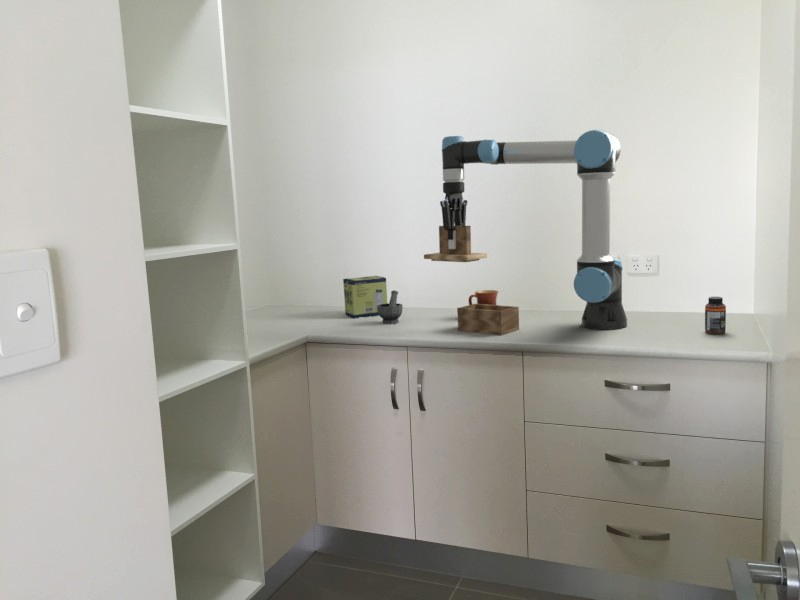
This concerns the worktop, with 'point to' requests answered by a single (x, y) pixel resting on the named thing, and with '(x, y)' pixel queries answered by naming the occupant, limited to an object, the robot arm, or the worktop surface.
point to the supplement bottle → (715, 316)
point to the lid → (462, 247)
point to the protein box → (364, 295)
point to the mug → (485, 297)
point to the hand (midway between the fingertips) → (454, 248)
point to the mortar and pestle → (390, 310)
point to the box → (488, 319)
